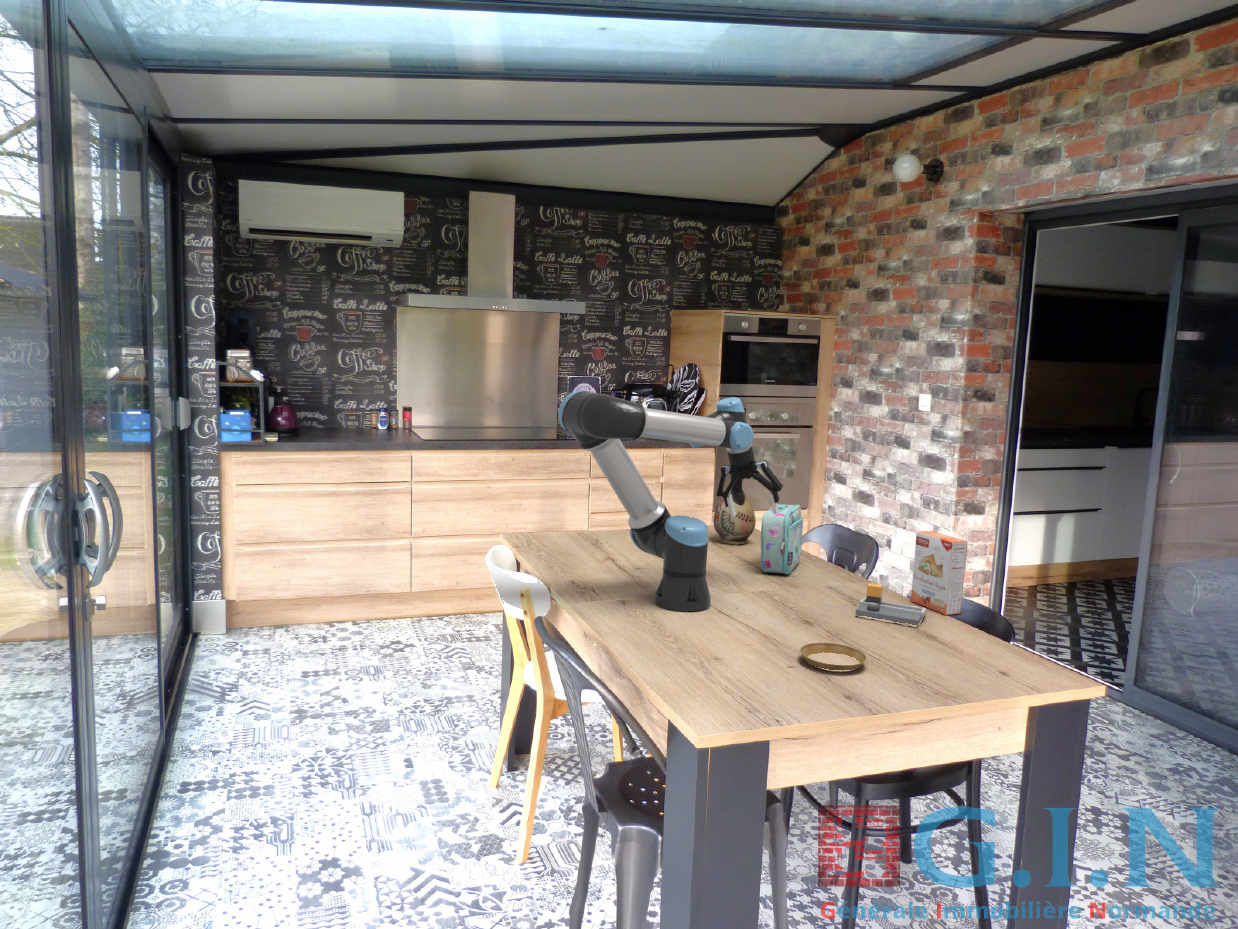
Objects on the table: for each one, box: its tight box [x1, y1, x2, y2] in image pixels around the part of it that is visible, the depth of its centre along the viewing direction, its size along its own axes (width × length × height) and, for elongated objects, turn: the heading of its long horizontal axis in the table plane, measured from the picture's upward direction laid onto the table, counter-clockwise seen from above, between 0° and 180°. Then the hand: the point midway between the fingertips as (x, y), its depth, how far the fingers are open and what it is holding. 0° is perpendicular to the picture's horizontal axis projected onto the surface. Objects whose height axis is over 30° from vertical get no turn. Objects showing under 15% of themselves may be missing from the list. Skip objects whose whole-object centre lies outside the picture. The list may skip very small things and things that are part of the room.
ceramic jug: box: [712, 464, 756, 546], centre depth 321 cm, size 17×15×30 cm
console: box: [855, 597, 928, 627], centre depth 238 cm, size 14×17×4 cm
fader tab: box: [866, 582, 884, 605], centre depth 241 cm, size 3×4×5 cm
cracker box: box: [910, 530, 968, 616], centre depth 247 cm, size 14×6×21 cm, turn 23°
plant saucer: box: [799, 642, 868, 671], centre depth 199 cm, size 15×15×3 cm
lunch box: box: [760, 503, 804, 575], centre depth 286 cm, size 27×10×21 cm, turn 160°
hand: (754, 514), depth 267 cm, fingers open, 13 cm apart
